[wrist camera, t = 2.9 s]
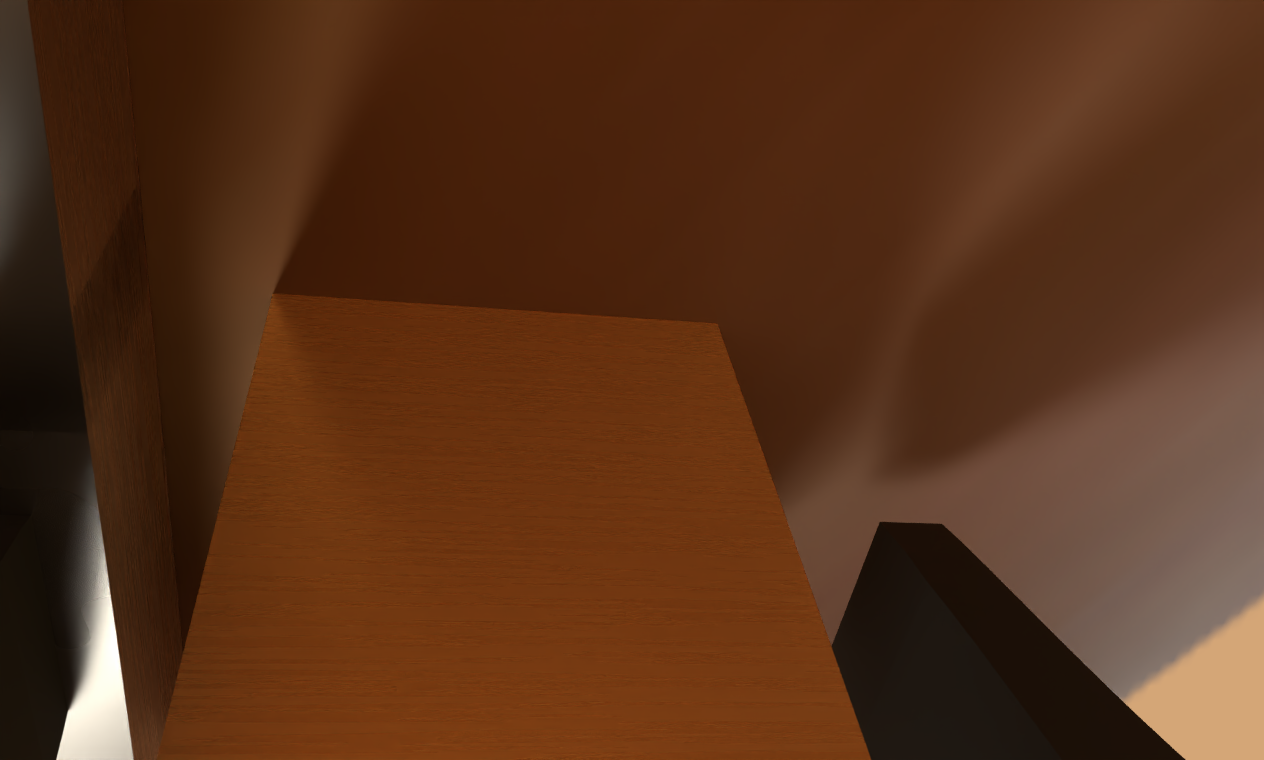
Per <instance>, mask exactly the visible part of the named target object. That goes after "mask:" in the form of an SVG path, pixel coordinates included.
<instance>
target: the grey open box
mask: <svg viewBox="0 0 1264 760" xmlns="http://www.w3.org/2000/svg"><path fill="white" fill-rule="evenodd" d="M0 515H24V516H31V517H32V522H33V527H34V533H35V538H36V543H37V549H38V554H39V560H40V565H41V570H42V576H43V581H44V586H45V592H46V597H47V603H48V608H49V613H50V619H51V624H52V629H53V635H54V640H55V646H56V651H57V656H58V662H59V667H60V672H61V678H62V683H63V689H64V694H65V699H66V705H67V710H68V714H67V718H66V722H65V727H64V731H63V735H62V739H61V743H60V747H59V751H58V755H57V759H56V760H157V756H158V752H159V748H160V744H161V740H162V736H163V732H164V728H165V724H166V720H167V716H168V712H169V708H170V704H171V700H172V696H173V692H174V688H175V684H176V680H177V676H178V672H179V668H180V664H181V660H182V656H183V645H182V634H181V624H180V613H179V602H178V591H177V581H176V570H175V559H174V548H173V537H172V527H171V516H170V505H169V494H168V484H167V473H166V462H165V451H164V441H163V430H162V419H161V408H160V397H159V387H158V376H157V365H156V354H155V344H154V333H153V322H152V311H151V301H150V290H149V279H148V268H147V257H146V247H145V236H144V225H143V214H142V204H141V193H140V182H139V171H138V160H137V150H136V139H135V128H134V117H133V107H132V96H131V85H130V74H129V64H128V53H127V42H126V31H125V20H124V10H123V0H0Z"/></svg>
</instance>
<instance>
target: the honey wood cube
mask: <svg viewBox="0 0 1264 760" xmlns="http://www.w3.org/2000/svg"><path fill="white" fill-rule="evenodd" d="M157 760H871V758H870V755H869V752H868V749H867V746H866V743H865V741H864V738H863V735H862V732H861V729H860V726H859V724H858V721H857V718H856V715H855V712H854V709H853V707H852V704H851V701H850V698H849V695H848V692H847V690H846V687H845V684H844V681H843V678H842V675H841V673H840V670H839V667H838V664H837V661H836V658H835V656H834V653H833V650H832V647H831V644H830V641H829V639H828V636H827V633H826V630H825V627H824V624H823V622H822V619H821V616H820V613H819V610H818V607H817V605H816V602H815V599H814V596H813V593H812V590H811V588H810V585H809V582H808V579H807V576H806V573H805V571H804V568H803V565H802V562H801V559H800V556H799V553H798V551H797V548H796V545H795V542H794V539H793V536H792V534H791V531H790V528H789V525H788V522H787V519H786V517H785V514H784V511H783V508H782V505H781V502H780V500H779V497H778V494H777V491H776V488H775V485H774V483H773V480H772V477H771V474H770V471H769V468H768V466H767V463H766V460H765V457H764V454H763V451H762V449H761V446H760V443H759V440H758V437H757V434H756V432H755V429H754V426H753V423H752V420H751V417H750V415H749V412H748V409H747V406H746V403H745V400H744V398H743V395H742V392H741V389H740V386H739V383H738V381H737V378H736V375H735V372H734V369H733V366H732V364H731V361H730V358H729V355H728V352H727V349H726V347H725V344H724V341H723V338H722V335H721V332H720V330H719V327H718V324H717V323H703V322H688V321H673V320H658V319H644V318H629V317H614V316H599V315H585V314H570V313H555V312H541V311H526V310H511V309H496V308H482V307H467V306H452V305H437V304H423V303H408V302H393V301H378V300H364V299H349V298H334V297H319V296H305V295H290V294H275V293H273V295H272V299H271V303H270V307H269V311H268V315H267V319H266V323H265V327H264V331H263V335H262V339H261V343H260V347H259V351H258V355H257V359H256V363H255V367H254V371H253V375H252V379H251V383H250V387H249V391H248V395H247V399H246V403H245V407H244V411H243V415H242V419H241V423H240V427H239V431H238V435H237V439H236V443H235V447H234V451H233V455H232V459H231V463H230V467H229V471H228V475H227V479H226V483H225V487H224V491H223V495H222V499H221V503H220V507H219V511H218V515H217V519H216V523H215V527H214V531H213V535H212V539H211V544H210V548H209V552H208V556H207V560H206V564H205V568H204V572H203V576H202V580H201V584H200V588H199V592H198V596H197V600H196V604H195V608H194V612H193V616H192V620H191V624H190V628H189V632H188V636H187V640H186V644H185V648H184V652H183V656H182V660H181V664H180V668H179V672H178V676H177V680H176V684H175V688H174V692H173V696H172V700H171V704H170V708H169V712H168V716H167V720H166V724H165V728H164V732H163V736H162V740H161V744H160V748H159V752H158V756H157Z"/></svg>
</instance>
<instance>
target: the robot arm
mask: <svg viewBox="0 0 1264 760" xmlns="http://www.w3.org/2000/svg"><path fill="white" fill-rule="evenodd" d="M832 650H833V653H834V656H835V658H836V661H837V664H838V667H839V670H840V673H841V675H842V678H843V681H844V684H845V687H846V690H847V692H848V695H849V698H850V701H851V704H852V707H853V709H854V712H855V715H856V718H857V721H858V724H859V726H860V729H861V732H862V735H863V738H864V741H865V743H866V746H867V749H868V752H869V755H870V758H871V760H1185V759H1184V758H1183V757H1182V756H1181V755H1180V754H1178V753H1177V752H1176V751H1175V750H1174V749H1173V748H1172V747H1171V746H1170V745H1169V744H1168V743H1166V742H1165V741H1164V740H1163V739H1162V738H1161V737H1160V736H1159V735H1158V734H1157V733H1156V732H1155V731H1153V729H1151V728H1150V727H1149V726H1148V725H1147V724H1146V723H1145V722H1144V721H1143V720H1142V719H1141V718H1140V717H1138V716H1137V715H1136V714H1135V713H1134V712H1133V711H1132V710H1131V709H1130V708H1129V707H1128V706H1127V705H1126V704H1125V703H1124V702H1123V701H1122V700H1121V699H1120V698H1119V697H1118V696H1116V695H1115V694H1114V693H1113V692H1112V691H1111V690H1110V689H1109V688H1108V687H1107V686H1106V685H1105V684H1104V683H1103V682H1102V681H1101V680H1100V679H1099V678H1098V677H1097V676H1096V675H1095V674H1094V673H1093V672H1092V671H1091V670H1090V669H1089V668H1088V667H1087V666H1086V665H1085V664H1084V663H1083V662H1082V661H1081V660H1080V659H1079V658H1078V657H1076V656H1075V655H1074V654H1073V653H1072V652H1071V651H1070V650H1069V649H1068V648H1067V647H1066V646H1065V645H1064V644H1063V643H1062V642H1061V641H1060V640H1059V639H1058V638H1057V637H1056V636H1055V635H1054V634H1053V633H1052V632H1051V631H1050V630H1049V629H1048V628H1047V627H1046V626H1045V625H1044V624H1043V623H1042V622H1041V621H1040V620H1039V619H1038V618H1037V617H1036V616H1035V615H1034V614H1033V613H1032V612H1031V611H1030V610H1029V609H1028V608H1027V607H1026V606H1025V605H1024V604H1023V603H1022V602H1021V601H1020V600H1019V599H1018V598H1017V597H1016V596H1015V595H1014V594H1013V593H1012V592H1011V591H1010V590H1009V589H1008V588H1007V587H1006V586H1005V585H1004V584H1003V583H1002V582H1001V581H1000V580H999V579H998V578H997V577H996V576H995V575H994V574H993V573H992V572H991V571H990V570H989V569H988V568H987V567H986V566H985V565H984V564H983V563H982V562H981V561H980V560H979V559H978V558H977V557H976V556H975V555H974V554H973V553H972V552H971V551H970V550H969V549H968V548H967V547H966V546H965V545H964V544H963V543H962V542H961V541H960V540H959V539H958V538H957V537H955V536H954V535H953V534H952V533H951V532H950V531H949V530H948V529H947V528H946V527H945V526H944V525H942V524H927V523H897V522H880V523H879V526H878V528H877V531H876V533H875V536H874V539H873V541H872V544H871V546H870V549H869V552H868V554H867V557H866V559H865V562H864V564H863V567H862V570H861V572H860V575H859V577H858V580H857V582H856V585H855V588H854V590H853V593H852V595H851V598H850V601H849V603H848V606H847V608H846V611H845V613H844V616H843V619H842V621H841V624H840V626H839V629H838V632H837V634H836V637H835V639H834V642H833V644H832ZM67 714H68V710H67V705H66V699H65V694H64V689H63V683H62V678H61V672H60V667H59V662H58V656H57V651H56V646H55V640H54V635H53V629H52V624H51V619H50V613H49V608H48V603H47V597H46V592H45V586H44V581H43V576H42V570H41V565H40V560H39V554H38V549H37V543H36V538H35V533H34V527H33V522H32V517H31V516H24V515H0V760H56V759H57V755H58V751H59V747H60V743H61V739H62V735H63V731H64V727H65V722H66V718H67Z"/></svg>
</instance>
